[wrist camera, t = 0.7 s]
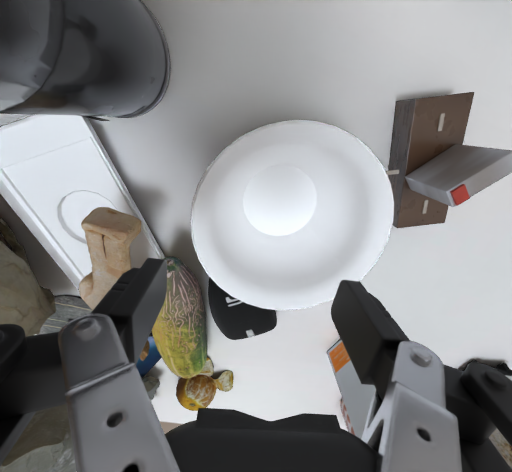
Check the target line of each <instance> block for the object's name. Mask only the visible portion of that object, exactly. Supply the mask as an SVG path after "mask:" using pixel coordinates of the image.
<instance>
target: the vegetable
mask: <svg viewBox="0 0 512 472" xmlns="http://www.w3.org/2000/svg"><path fill="white" fill-rule="evenodd" d="M164 259H165V260H166V261H167V292H166V298H165V301H164V304H163V306H162V308H161V310H160V313H159V315H158V317H157V319H156V322H155V324H154V326H153V328H152V334H153V338H154V341H155V344H156V346H157V349H158V351H159V353H160V355H161V356H162V358H163V360H164V362H165V364H166V365H167V366H168V368H169V369H170V370H171V371H172V372H173V373H174V374H175V375H177V376H179V377H181V378H186V379H187V378H191V377H194V376H196V375H198V374H199V373H200V372H201V371H202V370H203V368H204V366H205V364H206V359H207V340H206V320H205V311H204V305H203V301H202V297H201V291H200V287H199V284H198V281H197V279H196V277H195V275H194V274H193V273H192V271H191V270H190V269H189V268H188V267H186V266H185V265H184V264H183V263H182V261H181V260H179V259H178V258H176V257H167V258H164Z"/></svg>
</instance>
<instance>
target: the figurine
mask: <svg viewBox="0 0 512 472" xmlns="http://www.w3.org/2000/svg"><path fill="white" fill-rule="evenodd" d="M81 226H82V229H83V230H84V231H85V237H86V240H87V246H88V251H89V253H90V258H91V263H92V272H91V273H89V274H88V275H86V276H85V277H84V278H83V279H82V280H81V282H80V283H79V292H80V296H81V298H82V299H83V300H84V301H85V302H86V304H87V305H88V306H89V307H90V308H91V309H92V310H94V308H95V307H96V306H97V305H98V303H99V302H100V301H101V300H102V299H103V297H104V296H105V295H106V294H107V292H108V291H109V290H111V288H112V286H113V285H114V284H115V283H116V281H117V280H118V279H119V278H120V277H121V275H122V274H123V273H125V272H127V271H128V270H130V269H132V268H131V258H130V244H131V242H132V241H133V240H134V239H135V238H136V237H137V236H138V235H139V233H140V232H141V220H140V219H138V218H136V217H134V216H132V215H129V214H126V213H122V212H119V211H117V210H115V209H112V208H109V207H98V208H96V209H94V210H92V211H91V212H90V214H89V215H88V216H87V217H85V219H84V220H83V221H82V223H81ZM149 348H150V346H149V341H148V339H147V341H146V344H145V346H144V348H143V350H142V353H141V355H140V359H141V360H142V361H143V360H145V358H146V356H148V353H149Z"/></svg>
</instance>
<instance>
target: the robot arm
mask: <svg viewBox="0 0 512 472" xmlns="http://www.w3.org/2000/svg"><path fill="white" fill-rule="evenodd" d="M169 77H170V55H169V50H168V46H167V42H166V39H165V36H164V34H163V32H162V29H161V28H160V26H159V24H158V22H157V20H156V19H155V17H154V16H153V15H152V13H151V12H150V11H149V10H148V8H147V7H146V6H145V5H144V4H143V3H142V2H141V1H140V0H0V113H8V114H45V115H78V116H82V117H87V118H91V119H96V120H100V121H110V120H105V119H101V118H96V117H92V116H108V117H117V118H132V117H137V116H140V115H143V114H145V113H147V112H149V111H150V110H151V109H153V108H154V107H155V106H156V105H157V104H158V103H159V101H160V100H161V99H162V97H163V95H164V93H165V91H166V89H167V86H168V82H169ZM166 292H167V261H166V260H165V259H156V258H147V259H146V261H145V262H144V264H143V265H142V266H141V268H132V269H130V270H128V271H127V272H125V273H123V274H122V275H121V277H120V278H119V279H118V280H117V281H116V283H115V284H114V285H113V286H112V288H111V290H109V291H108V292H107V294H106V295H105V296H104V297H103V299H102V300H101V301H100V302H99V303H98V305H97V306H96V307H95V308H94V310H93V311H92V312H91V313H90V314H87V315H83V316H80V317H77V318H75V319H73V320H71V321H70V322H68V323H67V324H65V325H64V326H63V327H62V329H61V330H60V331H59V332H54V333H47V334H40V335H33V336H26V335H25V331H24V329H23V328H22V327H21V326H19V325H16V324H0V466H1V464H2V463H3V461H4V460H5V458H6V457H7V455H8V454H9V452H10V451H11V449H12V448H13V446H14V445H15V443H16V442H17V440H18V439H19V437H20V436H21V434H22V433H23V431H24V430H25V428H26V427H27V425H28V424H29V422H30V420H31V419H32V417H33V416H34V414H35V413H36V411H39V410H44V409H48V408H52V407H56V406H60V405H64V404H67V411H68V417H69V424H70V431H71V437H72V444H73V451H74V458H75V464H76V471H77V472H512V469H511V468H510V466H509V465H508V464H507V462H506V461H505V459H504V458H503V457H502V455H501V454H500V453H499V451H498V450H497V449H496V447H495V446H494V444H493V443H492V442H491V440H490V439H489V436H490V435H491V434H492V433H493V432H494V431H495V430H496V429H498V430H499V431H500V433H501V434H502V435H503V436H504V438H505V439H506V440H507V442H508V443H509V444H510V445H511V447H512V381H511V380H510V379H509V378H508V377H506V376H505V375H504V374H502V373H501V372H499V371H498V370H496V369H494V368H492V367H490V366H488V365H485V364H482V363H478V362H472V363H470V364H469V365H468V367H467V368H466V369H465V371H461V370H458V369H455V368H452V367H449V366H446V365H443V363H442V361H441V360H440V358H439V357H438V356H437V355H436V354H435V353H434V352H432V351H431V350H430V349H428V348H427V347H425V346H423V345H421V344H419V343H417V342H413V341H410V340H409V339H408V338H407V336H406V335H405V334H404V332H403V331H402V330H401V328H400V327H399V326H398V324H397V323H396V322H395V321H394V319H393V318H391V315H390V314H389V313H388V311H386V309H385V307H384V306H383V305H382V304H381V302H380V301H379V300H378V299H377V298H375V297H374V296H373V295H371V294H370V293H368V292H367V291H366V289H365V288H364V287H363V285H362V284H361V283H360V282H359V281H351V280H342V281H341V282H340V284H339V287H338V290H337V292H336V295H335V298H334V301H333V304H332V308H331V316H332V320H333V322H334V324H335V327H336V329H337V331H338V333H339V335H340V338H341V340H342V342H343V344H344V347H345V349H346V351H347V353H348V355H349V358H350V360H351V362H352V364H353V367H354V369H355V371H356V373H357V375H358V378H359V380H360V382H361V384H366V385H374V386H375V388H376V390H375V392H374V394H373V397H372V401H371V405H370V409H369V413H368V416H367V420H366V424H365V428H364V432H363V435H362V438H361V439H360V438H358V437H357V436H355V435H353V434H352V433H350V432H347V431H345V430H343V429H340V426H339V423H338V419H337V416H336V415H323V414H300V415H296V416H292V417H288V418H284V419H280V420H276V421H266V420H263V419H260V418H257V417H254V416H251V415H248V414H245V413H242V412H239V411H236V410H229V409H211V408H198V414H197V420H195V421H192V422H188V423H185V424H183V425H180V426H178V427H176V428H174V429H172V430H171V431H169V432H168V433H166V434H164V432H163V429H162V427H161V424H160V422H159V420H158V417H157V415H156V412H155V410H154V408H153V405H152V403H151V400H150V398H149V396H148V393H147V391H146V389H145V386H144V384H143V381H142V379H141V377H140V374H139V372H138V369H137V367H136V364H137V361H138V359H139V357H140V355H141V353H142V350H143V348H144V346H145V344H146V341H147V339H148V337H149V335H150V333H151V330H152V328H153V326H154V324H155V322H156V319H157V317H158V315H159V313H160V310H161V308H162V306H163V304H164V301H165V298H166Z"/></svg>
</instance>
